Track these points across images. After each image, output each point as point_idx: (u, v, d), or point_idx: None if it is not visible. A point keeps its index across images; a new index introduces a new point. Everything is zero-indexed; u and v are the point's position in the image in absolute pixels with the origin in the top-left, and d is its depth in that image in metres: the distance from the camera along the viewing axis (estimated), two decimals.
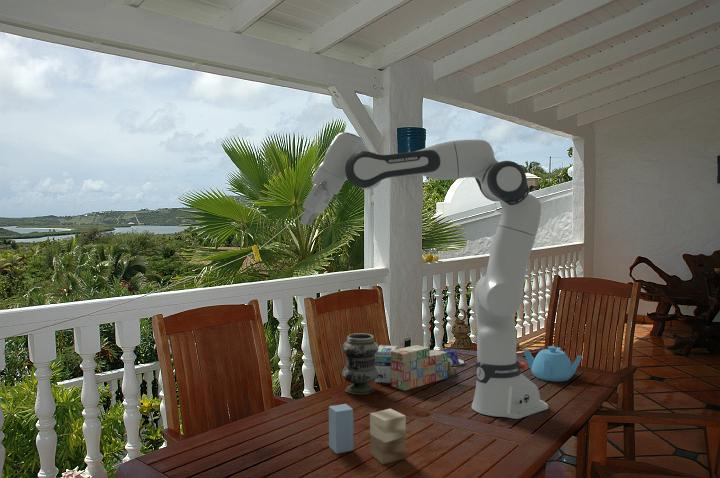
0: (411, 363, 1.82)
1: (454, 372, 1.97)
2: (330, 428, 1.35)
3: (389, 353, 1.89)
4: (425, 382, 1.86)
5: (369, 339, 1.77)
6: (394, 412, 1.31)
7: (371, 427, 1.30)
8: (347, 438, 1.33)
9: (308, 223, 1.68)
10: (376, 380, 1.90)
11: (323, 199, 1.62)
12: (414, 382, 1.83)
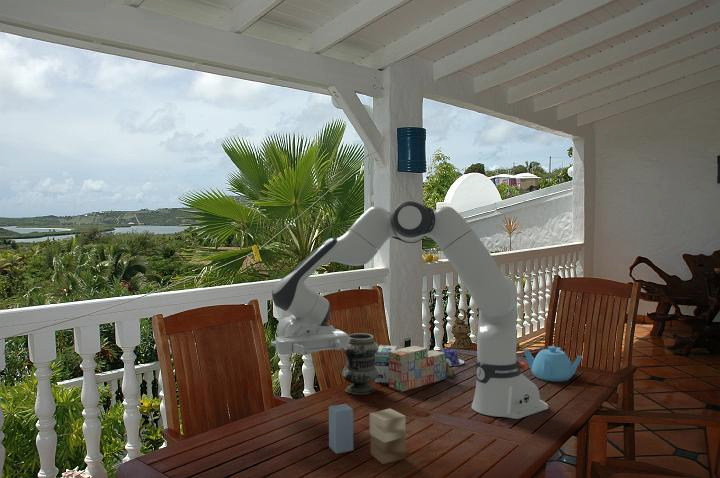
0: (409, 364, 1.81)
1: (452, 373, 1.96)
2: (330, 428, 1.35)
3: None
4: (423, 383, 1.86)
5: (369, 339, 1.77)
6: (393, 412, 1.31)
7: (371, 427, 1.30)
8: (347, 438, 1.33)
9: (335, 345, 1.47)
10: (376, 380, 1.90)
11: None
12: (412, 383, 1.82)
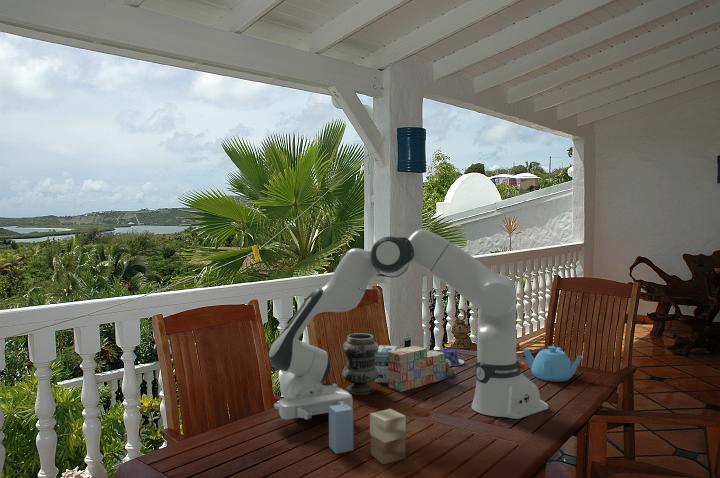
0: (408, 364, 1.81)
1: (452, 373, 1.96)
2: (330, 428, 1.35)
3: None
4: (422, 383, 1.85)
5: (369, 339, 1.77)
6: (394, 412, 1.31)
7: (371, 427, 1.30)
8: (347, 438, 1.33)
9: None
10: (376, 380, 1.90)
11: (309, 398, 1.51)
12: (411, 383, 1.82)
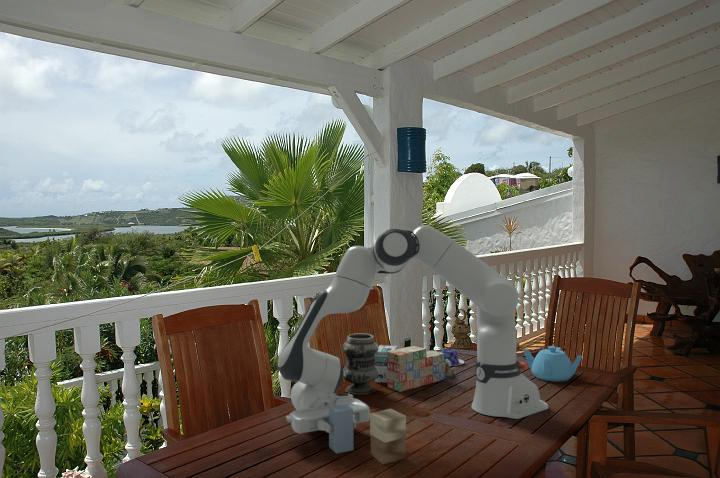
0: (407, 364, 1.81)
1: (452, 373, 1.96)
2: None
3: None
4: (422, 383, 1.85)
5: (369, 339, 1.77)
6: (394, 412, 1.31)
7: (371, 427, 1.30)
8: (347, 438, 1.33)
9: None
10: (376, 380, 1.90)
11: (323, 410, 1.41)
12: (411, 383, 1.82)
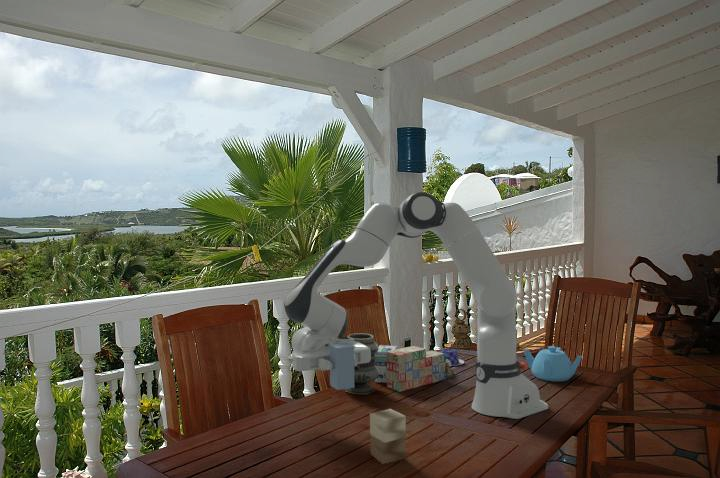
0: (407, 364, 1.81)
1: (452, 373, 1.95)
2: None
3: None
4: (421, 383, 1.85)
5: (369, 339, 1.77)
6: (394, 412, 1.31)
7: (371, 427, 1.30)
8: (348, 375, 1.32)
9: None
10: (376, 380, 1.90)
11: (324, 350, 1.41)
12: (410, 383, 1.82)
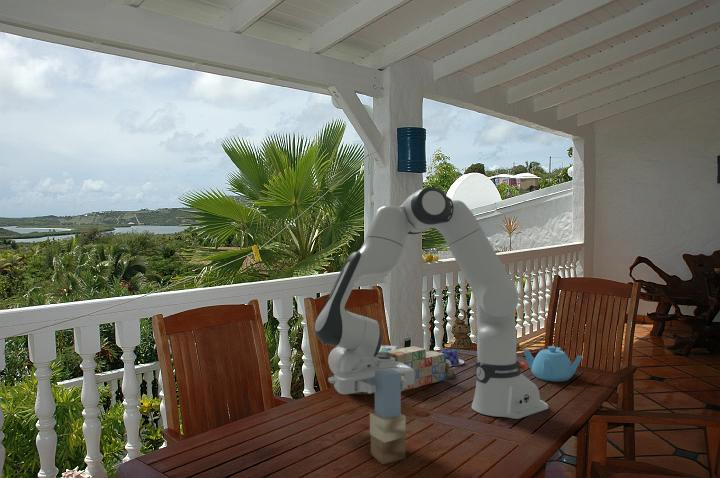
0: (406, 364, 1.81)
1: (452, 374, 1.95)
2: (376, 393, 1.30)
3: None
4: (421, 383, 1.85)
5: None
6: None
7: (371, 427, 1.30)
8: (394, 403, 1.28)
9: (401, 384, 1.30)
10: None
11: (367, 372, 1.36)
12: None
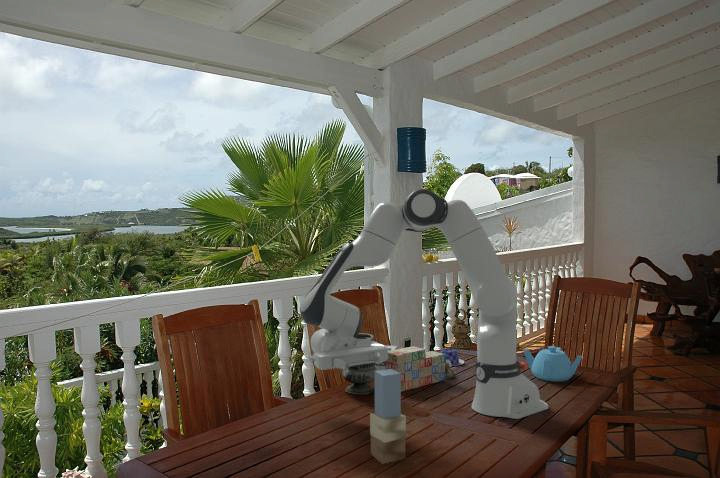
0: (406, 364, 1.80)
1: (452, 374, 1.95)
2: (376, 393, 1.29)
3: None
4: (421, 384, 1.84)
5: None
6: None
7: (371, 427, 1.30)
8: (394, 404, 1.28)
9: (376, 359, 1.44)
10: None
11: (344, 350, 1.49)
12: (409, 383, 1.81)
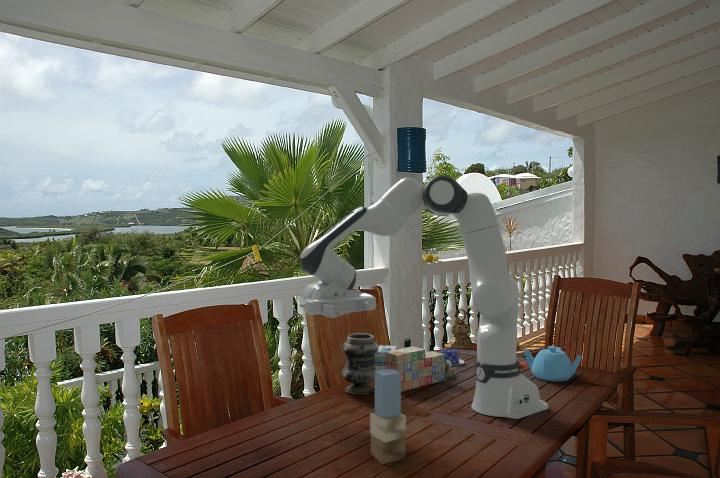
0: (405, 365, 1.80)
1: (452, 374, 1.94)
2: (376, 393, 1.30)
3: None
4: (421, 384, 1.84)
5: (369, 339, 1.77)
6: None
7: (371, 427, 1.30)
8: (394, 403, 1.28)
9: (364, 306, 1.49)
10: None
11: (333, 298, 1.55)
12: (409, 383, 1.81)
